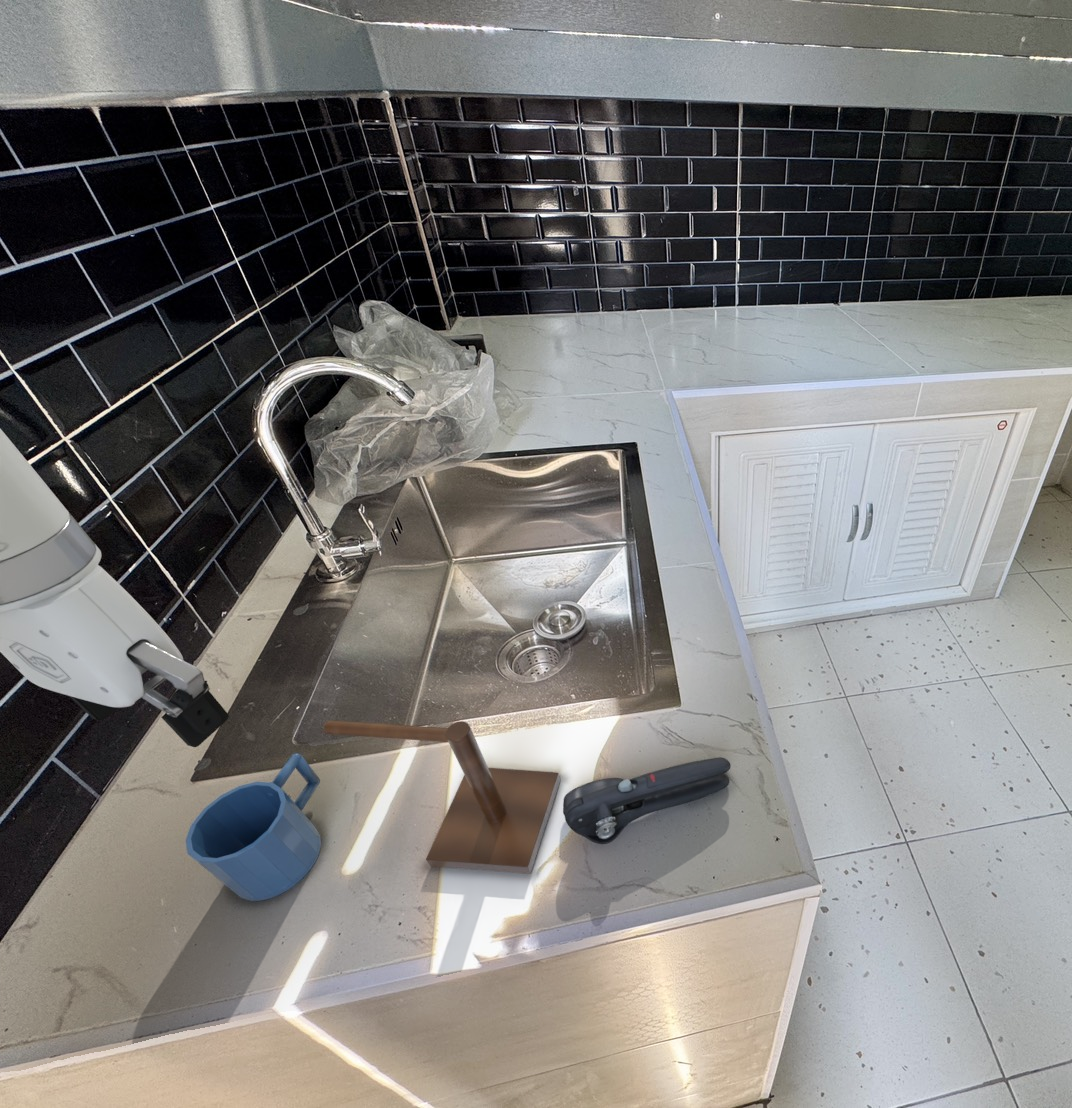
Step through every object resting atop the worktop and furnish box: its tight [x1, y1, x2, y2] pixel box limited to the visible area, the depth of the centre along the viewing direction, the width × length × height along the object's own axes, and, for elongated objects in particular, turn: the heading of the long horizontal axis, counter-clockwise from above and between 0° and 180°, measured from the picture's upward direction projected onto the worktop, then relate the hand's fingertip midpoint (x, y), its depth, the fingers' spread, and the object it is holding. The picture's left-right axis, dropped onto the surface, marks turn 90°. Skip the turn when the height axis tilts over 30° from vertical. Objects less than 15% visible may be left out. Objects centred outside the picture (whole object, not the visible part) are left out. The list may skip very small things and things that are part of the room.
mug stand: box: [322, 719, 561, 875], centre depth 58 cm, size 10×17×16 cm, turn 86°
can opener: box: [562, 756, 732, 845], centre depth 62 cm, size 18×7×6 cm, turn 109°
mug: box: [185, 752, 322, 902], centre depth 58 cm, size 11×7×8 cm, turn 176°
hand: (163, 718), depth 50 cm, fingers open, 9 cm apart
